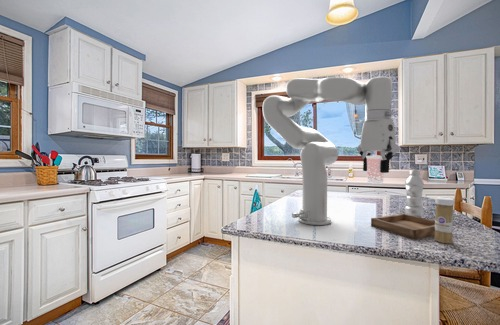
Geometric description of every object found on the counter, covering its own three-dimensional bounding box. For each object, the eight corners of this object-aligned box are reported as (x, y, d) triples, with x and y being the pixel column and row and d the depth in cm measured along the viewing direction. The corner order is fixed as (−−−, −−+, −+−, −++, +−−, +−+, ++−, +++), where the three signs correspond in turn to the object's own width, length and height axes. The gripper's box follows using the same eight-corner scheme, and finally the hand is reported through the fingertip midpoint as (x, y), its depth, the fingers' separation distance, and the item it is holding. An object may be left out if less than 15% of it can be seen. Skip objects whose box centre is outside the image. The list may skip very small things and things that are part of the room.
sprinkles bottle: (433, 241, 78) (434, 198, 77) (434, 237, 81) (436, 196, 81) (452, 245, 75) (454, 199, 74) (453, 241, 78) (454, 197, 78)
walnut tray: (413, 239, 79) (413, 230, 79) (371, 226, 94) (371, 218, 94) (448, 232, 86) (448, 223, 86) (403, 221, 101) (403, 213, 101)
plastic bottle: (426, 220, 103) (427, 171, 102) (407, 219, 104) (409, 170, 103) (419, 216, 109) (420, 170, 108) (401, 215, 110) (402, 169, 110)
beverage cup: (384, 184, 79) (386, 140, 79) (363, 183, 83) (365, 140, 82) (386, 182, 85) (387, 140, 84) (366, 181, 88) (367, 141, 87)
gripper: (411, 114, 76) (408, 173, 77) (364, 120, 92) (362, 169, 93) (394, 112, 73) (391, 174, 74) (349, 118, 89) (347, 169, 90)
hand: (375, 171), depth 83 cm, fingers closed on beverage cup, 6 cm apart
